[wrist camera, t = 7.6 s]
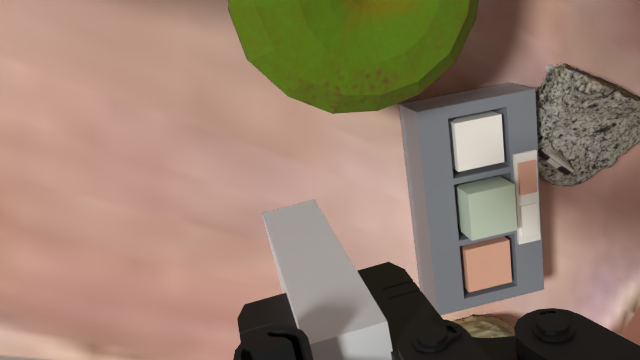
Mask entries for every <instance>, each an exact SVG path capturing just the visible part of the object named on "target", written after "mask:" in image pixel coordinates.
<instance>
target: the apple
mask: <svg viewBox="0 0 640 360" xmlns="http://www.w3.org/2000/svg"><path fill="white" fill-rule="evenodd" d="M477 7H478V0H229V6H228V11H229V13H230V16H231V19H232V21H233V24H234V27H235V29H236V32H237V34H238V37H239V40H240V42H241V45H242V48H243V50H244V53H245V56H246V58H247V60H248V61H249V62H251V63H252V64H253V65H254V66H255V67H256V68H257V69H258V70H259V71H261V72H262V73H263V74H264V75H265V76H266V77H267V78H268V79H269V80H271V81H272V82H273V83H274V84H275V85H276V86H277V87H278V88H279V89H281V90H282V91H283V92H284V93H285V94H286V95H287V96H288V97H291V98H294V99H296V100H299V101H301V102H304V103H307V104H309V105H312V106H314V107H317V108H319V109H322V110H325V111H327V112H330V113H332V114H333V113H349V112H364V111H378V110H381V109H383V108H386V107H388V106H391V105H393V104H396V103H399V102H401V101H404V100H406V99H409V98H412V97H414V96H417V95H419V94H421V93H422V92H423V91H424V90H425V89H426V88H427V87H429V86H430V85H431V84H432V83H433V82H434V81H435V80H437V79H438V78H439V77H440V76H441V75H442V74H443V73H445V72H446V71H447V70H448V69H449V68H450V67H451V66H452V65H454V64H455V62H456V60H457V58H458V56H459V54H460V52H461V49H462V47H463V45H464V43H465V41H466V39H467V37H468V35H469V32H470V30H471V28H472V26H473V24H474V22H475V20H476V14H477Z"/></svg>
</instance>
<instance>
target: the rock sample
mask: <svg viewBox="0 0 640 360" xmlns="http://www.w3.org/2000/svg"><path fill="white" fill-rule="evenodd" d="M545 70H548V71H547V75H546V78H545V80H544V81H543V83H542V85H541V86H540V87H539V88H538V91H537V93H536V118H537V140H538V163H539V175H540V176H541V178H542V179H543V180H547V181H549V182H550V183H551V184H553V185H562V186H574V185H577V184H580V183H582V182H584V181H586V180H588V179H589V178H590V177H591V176H593V175H594V174H595V173H596V172H597V171H598V170H600V169H603V168H607V167H612V165H613V164H614V163H615V162H616V159H617V156H620V155H623V154H625V153H626V152H627V151H628V150H629V149H630V148H631V147H632V146H633V145H635V144H636V143H638V142H639V141H640V97H639V96H637V95H634V94H632V93H630V92H628V91H627V90H625V89H623V88H622V86H621V87H620V86H618V85H616V84H613V83H610V82H608V81H605V80H603V79H602V78H599V77H595V76H592V75H590V74H589V73H586V72H584V71H581V70H578V69H577V68H576V69H575V68H573V67H571V66H569V65H568V64H565V63H561V64H560V65H558V64H557V65H556V66H555V67H554V66H553V65H551V66H550V65H547V66H546V67H545ZM543 79H544V78H543Z"/></svg>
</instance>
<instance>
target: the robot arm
mask: <svg viewBox="0 0 640 360" xmlns="http://www.w3.org/2000/svg"><path fill="white" fill-rule="evenodd" d="M262 214H263V218H264V222H265V226H266V230H267V234H268V238H269V242H270V246H271V249H272V253H273V257H274V261H275V265H276V269H277V273H278V277H279V281H280V285H281V289H282V293H283V294H280V295H276V296H273V297H269V298H266V299H262V300H259V301H255V302H252V303H248V304H245V305H244V307H243V309H242V311H241V313H240V315H239V317H238V326H239V333H240V340H241V344H240V345H239V346H238V348H237V349H236V350H235V354H234V359H233V360H640V346H639V345H637V344H635V343H633V342H631V341H629V340H627V339H625V338H624V337H622V336H620V335H618V334H616V333H614V332H612V331H610V330H608V329H607V328H605V327H603V326H601V325H599V324H597V323H595V322H593V321H591V320H590V319H588V318H586V317H584V316H582V315H580V314H577V313H574V312H571V311H569V310H563V309H555V308H550V309H539V310H536V311H533V312H530V313H527V314H525V315H524V316H522V317H521V318H520V319H519V320H517V323H516V325H515V327H514V333H515V336H507V337H494V338H478V337H472V336H471V335H470V334H469V332H468V331H467V330H466V329H465V328H463V327H462V326H461V325H459V324H458V323H455V322H452V321H449V320H443V319H442V317H441V316H440V315H439V313H438V312H437V311H436V310H435V308H434V307H433V306H432V304H431V303H430V302H429V300H428V299H427V298H426V297H425V295H424V294H423V293H422V291H420V289H419V287H418V286H417V285H416V284H415V282H413V280H412V278H411V277H410V276H409V275H408V273H407V272H406V271H405V269H403V268H401V267H399V266H397V265H394V264H392V263H390V262H386V263H383V264H379V265H376V266H372V267H369V268H365V269H362V270H358V271H357V270H356V268H355V266H354V265H353V263H352V261H351V260H350V258H349V256H348V255H347V253H346V251H345V250H344V248H343V246H342V245H341V243H340V241H339V240H338V238H337V236H336V235H335V233H334V231H333V230H332V228H331V226H330V225H329V223H328V221H327V220H326V218H325V216H324V215H323V213H322V211H321V210H320V208H319V206H318V205H317V203H316V201H315V200H310V201H307V202H303V203H299V204H295V205H291V206H288V207H284V208H280V209H276V210H273V211H269V212H265V213H262Z"/></svg>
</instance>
